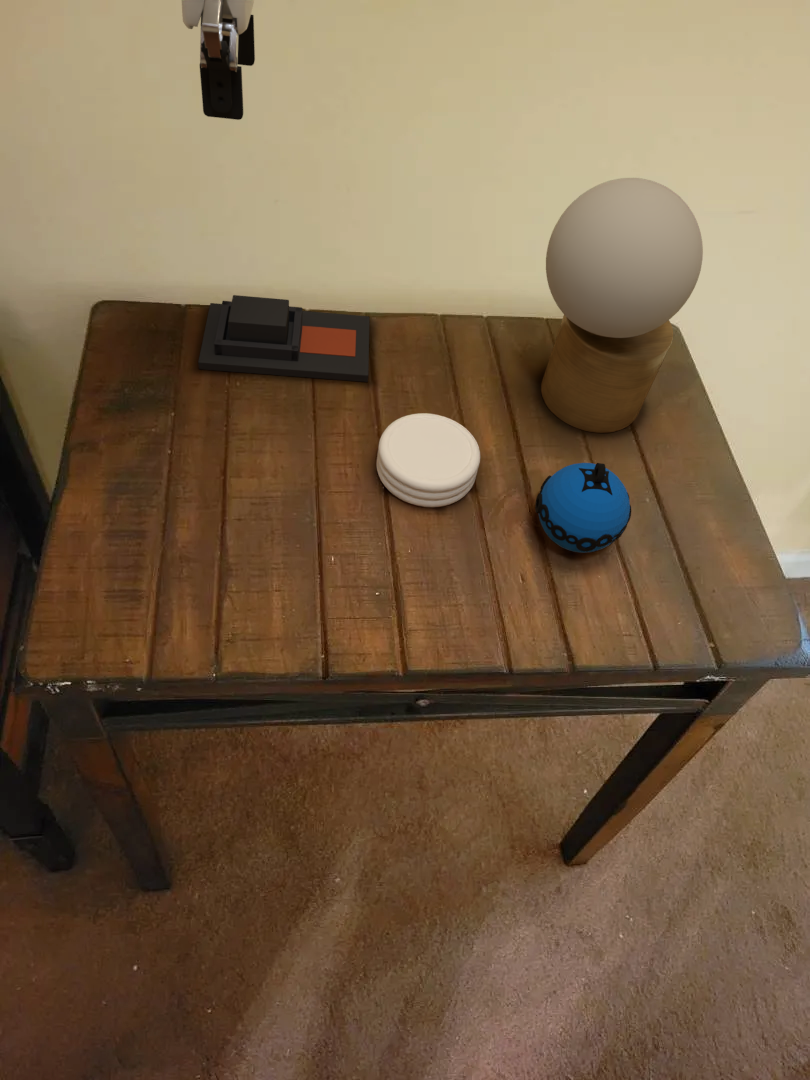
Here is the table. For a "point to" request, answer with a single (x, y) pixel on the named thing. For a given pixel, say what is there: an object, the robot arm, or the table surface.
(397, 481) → the coaster
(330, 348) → the base pad
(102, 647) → the table surface
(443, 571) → the table surface
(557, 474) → the ornament
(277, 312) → the dark grey block
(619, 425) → the lamp
